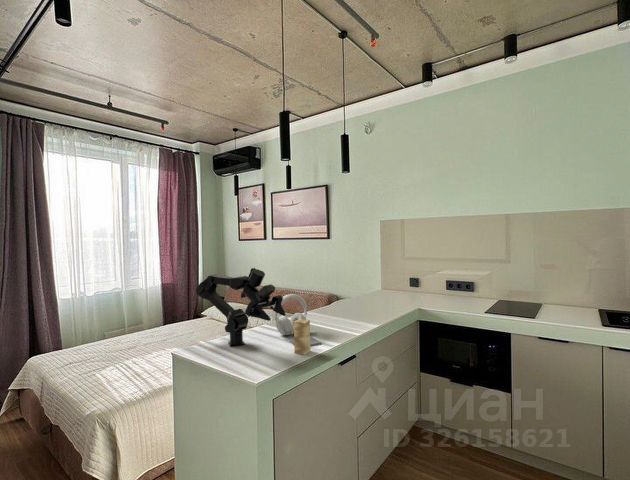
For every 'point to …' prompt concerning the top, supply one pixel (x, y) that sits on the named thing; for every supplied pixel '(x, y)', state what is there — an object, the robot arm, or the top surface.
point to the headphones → (288, 325)
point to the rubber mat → (312, 341)
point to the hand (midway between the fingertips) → (277, 317)
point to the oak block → (301, 336)
